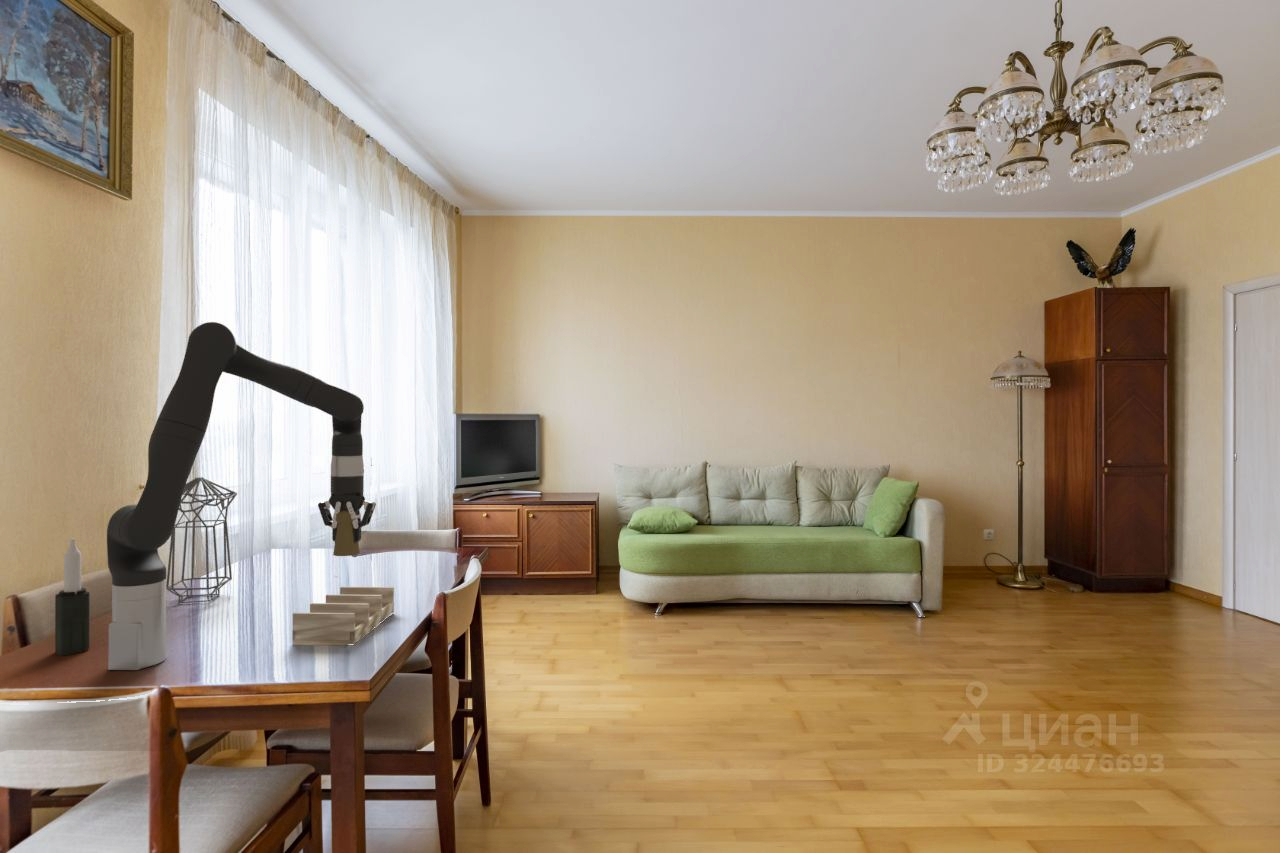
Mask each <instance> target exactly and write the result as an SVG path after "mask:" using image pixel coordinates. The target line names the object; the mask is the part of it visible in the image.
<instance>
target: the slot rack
mask: <svg viewBox="0 0 1280 853" xmlns="http://www.w3.org/2000/svg"><path fill="white" fill-rule="evenodd" d="M394 600H395V587H394V586H340V587H339V594H330V593H329V594H325V602H311V603H310V604H309V612H293V613H292V635H291V636H292V637H291V638H292V644H291V645H292V646H349V645H348V644H355V643H356V642H357V641H358V640H360V639H361V638H362V637H363V636H365V635H366V634H367V633H368V632H370V631H371V630H372V629H373V628H374V627H376V626H377V625H378V624H379V623H380V622H382V621H383V620H384V619H385V618H386V617H388V616H389V615H390V614H391V613H393V612H394V611H395V609H394V608H395V602H394ZM394 613H395V612H394ZM376 628H377V627H376ZM371 632H372V631H371ZM371 632H370V633H371ZM367 635H368V634H367ZM367 635H366V636H367ZM366 636H365V637H366ZM362 639H363V638H362ZM362 639H361V640H362ZM361 640H360V641H361ZM358 642H359V641H358ZM358 642H357V643H358ZM357 643H356V644H357ZM345 644H347V645H345ZM356 644H355V645H356Z"/></svg>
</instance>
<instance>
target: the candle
mask: <svg viewBox="0 0 1280 853" xmlns="http://www.w3.org/2000/svg"><path fill="white" fill-rule="evenodd" d="M54 598H55V601H54V602H55V603H54V604H55V606H54V607H55V612H54V614H55V615H54V616H55V617H54V620H55V622H54V632H55V634H54V636H55V637H54V645H55V646H54V652H55V654H57V655H59V656H70V655H73V654H77V652H78V653H81V652H80V651H83V652H86V651H85V650H87V651H89V650H90V608H91V607H90V600H91V599H90V598H91V596H90V591H87V588H84V587H82V552H81V551H80V550H79V549H78V547H77V543H76V538H74V537H72V538H70V543H69V546H68V548H67V550H66V551H65V553H64V554H63V590H60V591H59V592H58V593H56V594H55V597H54ZM88 649H89V650H88Z"/></svg>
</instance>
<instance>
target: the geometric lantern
mask: <svg viewBox="0 0 1280 853" xmlns="http://www.w3.org/2000/svg"><path fill="white" fill-rule="evenodd" d="M200 482H201V485H202V486H203V490H204V491H203V492H204V494H198V493H197V492H198V489H199V486H200ZM194 487H195V489H194ZM217 487H218V488H220V489H222V490H224V491H227V492H225V493H223V492H222V491H221V490H220V489H218V488H217ZM193 489H194V492H193V493H190V492H191V491H192V490H193ZM237 495H238V492H235V491H233V490H231V489H229V488H227V487H224V486H222V485H220V484H218V483H216V482H213V481H211V480H208V479H207V478H204V477H203V476H198V477H194V478H193V479H192V480H190V481H187V482H186V485H185V487H184V491H183V494H182V498H181V502H180V506H179V510H178V511H180V513H182V514H181V516H180V518H179V520H178V521H177V523H175V526H174V529H173V532H172V534H171V536H170V542H169V544H170V545H169V555H168V565H167V572H166V591H168V592H170V593H172V594H174V595H175V596H177V597H178V602H177V603H178V604H189V603H192V604H193V603H203V602H211V601H213V600H215V599H216V598H218V597H219V596H221V595H220V593H221V592H220V590H221V588H223V587H224V586H225V585H226V584H228V582H230V581H231V580H233V578H232V577H233V575H232V574H233V573H232V564H231V554H230V540H229V531H228V530H229V529H228V520H227V518H228V509H229V506H230V505H231V504H232V502H233V501H234V499H235V498H236V497H237ZM187 497H190V498H191V501H185V499H186V498H187ZM197 497H204V498H206V499H199V498H197ZM209 497H211V498H209ZM215 497H216V498H215ZM226 500H227V501H226ZM213 501H214V502H215V503H214V504H213V503H212V502H213ZM218 501H219V502H218ZM225 501H226V502H227V503H226V506H225ZM195 503H201V505H198V506H197V507H196V508H193V504H195ZM182 504H186V505H187V504H189V505H190V506H189V507H190V509H186V510H183V508H182ZM219 505H220V506H219ZM205 506H211V507H216V508H218V511H219V512H220V513H219V515H218V516H217V518H216V519H209V520H207V519H205V520H203V518H202V517H201V516H200V513H201V512H202V510H203V509H204V508H205ZM220 507H221V508H220ZM197 510H198V512H197ZM224 510H225V515H224V513H223V511H224ZM192 512H193V513H194V515H195V516H194V518H193V519H192V520H190V518H188V516H187V515H186V514H185V513H192ZM183 516H184V517H185V518H186V520H187V521H186V520H183V521H181V520H182V518H184V517H183ZM221 516H222V517H223V519H220V517H221ZM197 518H198V520H196V519H197ZM199 522H200V523H201V524H202V525H196V523H199ZM206 522H214V524H212V525H207V524H206ZM217 522H218V523H217ZM189 523H191V524H192V526H191V525H188V524H189ZM182 524H185V526H183V525H182ZM222 524H223V557H224V558H223V562H224V563H223V564H224V565H223V566H224V576H219V567H218V554H217V553H218V552H217V551H218V550H217V538H216V526H220V525H222ZM180 525H182V526H180ZM184 528H185V530H184V545H183V556H182V557H183V558H182V569H181V578H180V580H178V581H176V582H175V555H176V554H175V552H176V550H175V548H176V546H175V545H176V529H184ZM189 528H191V529H192V544H191V545H192V547H191V550H192V551H191V553H192V555H191V576H190V577H189V578H185V571H186V570H185V567H186V556H187V541H188V529H189ZM196 528H197V529H198V528H205V563H206V564H205V570H206V577H205V576H204V577H195V574H194V572H195V544H196V543H195V539H196V538H195V535H196V531H195V530H196ZM209 528H212V535H213V537H212V538H213V539H212V540H213V550H214V552H213V553H214V564H215V565H214V566H215V576H210V572H209V534H208V532H209V531H208V529H209ZM227 565H228V571H227ZM227 572H229V573H228V574H229V576H228V574H227ZM170 575H171V585H170ZM219 579H222V580H221V581H220V580H219ZM225 579H226V580H225ZM194 580H195V581H196V580H198V581H199V580H206V587H193V581H194ZM210 580H216V585H213V586H210ZM185 581H190V586H189V587H188V586H187V585H186V582H185ZM180 583H182V584H183V586H184V587H175V586H177V585H179V584H180ZM211 589H212V591H211V592H210V590H211ZM194 590H196V591H197V590H199V591H202V590H204V591H205V590H206V592H207V593H204V594H193V591H194ZM178 591H183V592H182V593H179V592H178ZM189 592H190V594H189ZM185 593H186V594H185ZM194 596H195V597H206V600H205V599H204V600H194V601H193V600H190V601H184V600H186V599H187V597H188V598H191V597H192V598H193V597H194ZM210 598H211V599H210Z"/></svg>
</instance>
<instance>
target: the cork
mask: <svg viewBox="0 0 1280 853" xmlns="http://www.w3.org/2000/svg"><path fill="white" fill-rule="evenodd" d="M355 514H356V515H358V513H355ZM352 515H353V514H352ZM336 521H337V523H338V525H337V533H336V540H335V542H334V546H333V552H332V554H333V556H335V557H351V556H355V555H359V554H360V547H359V546H360V544H359V543H357V544H355V543H354V538H353V529H354V527H353V523H352V522H353V520H352V519H351V514H350V513H349V511H346V510H343V511H340V512H338V514H336Z"/></svg>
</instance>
